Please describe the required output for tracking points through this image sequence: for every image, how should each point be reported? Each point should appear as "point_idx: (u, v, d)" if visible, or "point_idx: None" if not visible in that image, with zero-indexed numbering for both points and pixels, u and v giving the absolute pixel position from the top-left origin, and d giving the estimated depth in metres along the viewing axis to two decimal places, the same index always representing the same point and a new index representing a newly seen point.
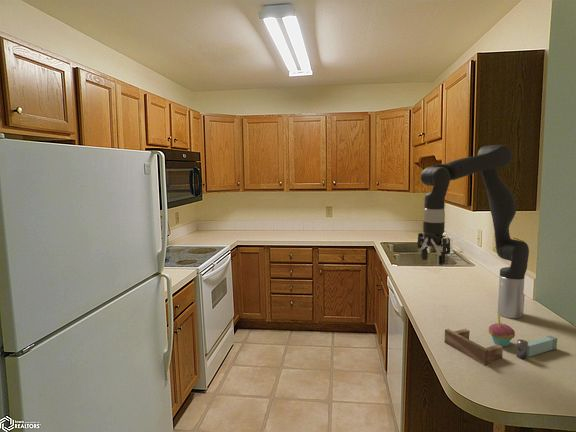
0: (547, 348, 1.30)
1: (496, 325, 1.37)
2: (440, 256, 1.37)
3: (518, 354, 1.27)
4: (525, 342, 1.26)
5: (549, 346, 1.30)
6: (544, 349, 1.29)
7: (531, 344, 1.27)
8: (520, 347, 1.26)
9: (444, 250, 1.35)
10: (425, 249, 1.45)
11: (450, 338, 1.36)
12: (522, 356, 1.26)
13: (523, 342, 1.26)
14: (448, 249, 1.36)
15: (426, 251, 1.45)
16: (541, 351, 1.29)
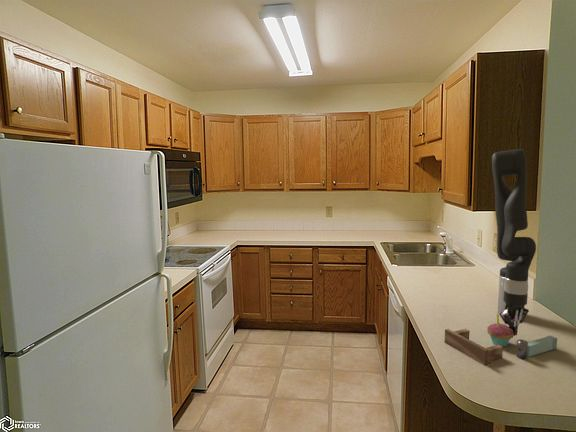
0: (547, 348, 1.30)
1: (495, 325, 1.36)
2: None
3: (518, 354, 1.27)
4: (525, 342, 1.26)
5: (549, 346, 1.30)
6: (544, 349, 1.29)
7: (531, 344, 1.27)
8: (520, 347, 1.26)
9: (523, 319, 1.38)
10: None
11: (450, 338, 1.36)
12: (522, 356, 1.26)
13: (523, 342, 1.26)
14: None
15: None
16: (541, 351, 1.29)
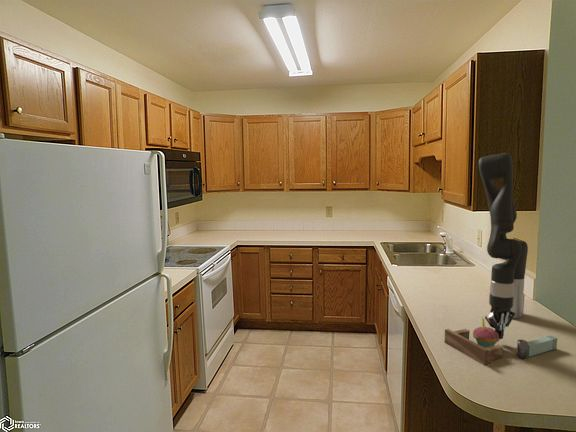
0: (547, 348, 1.30)
1: (480, 329, 1.34)
2: (503, 330, 1.35)
3: (518, 354, 1.27)
4: (525, 342, 1.26)
5: (549, 346, 1.30)
6: (544, 349, 1.29)
7: (531, 344, 1.27)
8: (520, 347, 1.26)
9: (509, 323, 1.36)
10: None
11: (450, 338, 1.36)
12: (522, 356, 1.26)
13: (523, 342, 1.26)
14: None
15: None
16: (541, 351, 1.29)
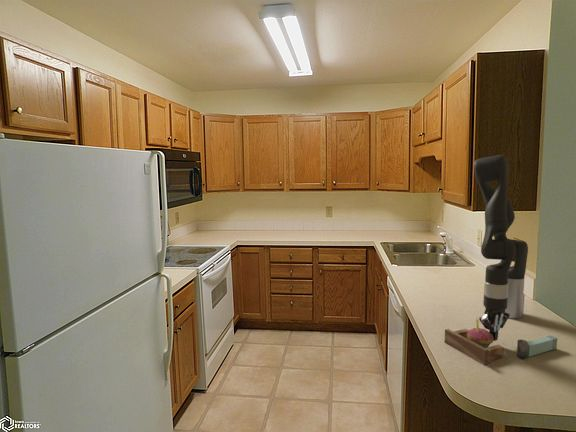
0: (547, 348, 1.30)
1: (474, 330, 1.33)
2: None
3: (518, 354, 1.27)
4: (525, 342, 1.26)
5: (549, 346, 1.30)
6: (544, 349, 1.29)
7: (531, 344, 1.27)
8: (520, 347, 1.26)
9: (503, 324, 1.35)
10: None
11: (450, 338, 1.36)
12: (522, 356, 1.26)
13: (523, 342, 1.26)
14: None
15: None
16: (541, 351, 1.29)
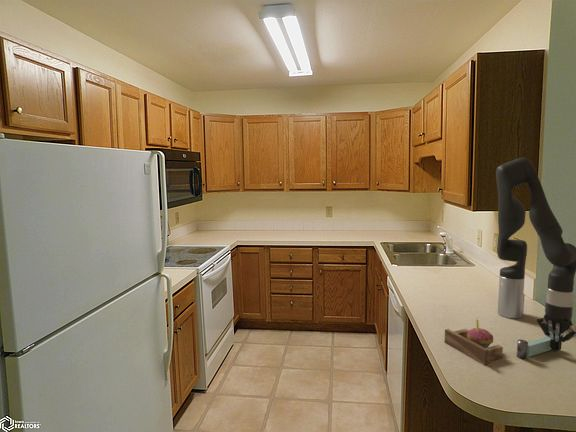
0: (547, 348, 1.30)
1: (474, 330, 1.33)
2: None
3: (518, 354, 1.27)
4: (525, 342, 1.26)
5: (549, 346, 1.30)
6: (544, 349, 1.29)
7: (531, 344, 1.27)
8: (520, 347, 1.26)
9: None
10: None
11: (450, 338, 1.36)
12: (522, 356, 1.26)
13: (523, 342, 1.26)
14: None
15: None
16: (541, 351, 1.29)
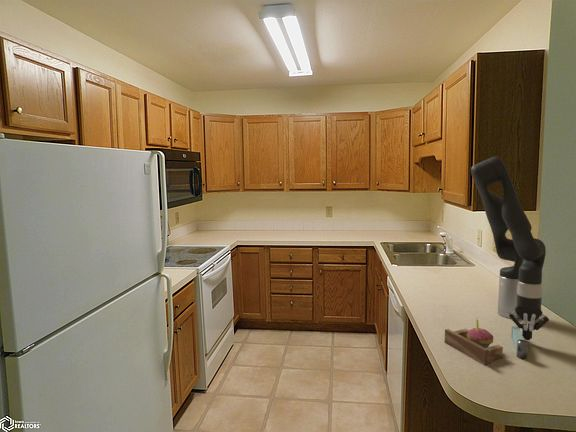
0: None
1: (474, 330, 1.33)
2: None
3: (518, 354, 1.27)
4: (525, 342, 1.26)
5: None
6: None
7: None
8: (520, 347, 1.26)
9: None
10: (528, 327, 1.36)
11: (450, 338, 1.36)
12: (522, 356, 1.26)
13: (523, 342, 1.26)
14: None
15: None
16: None
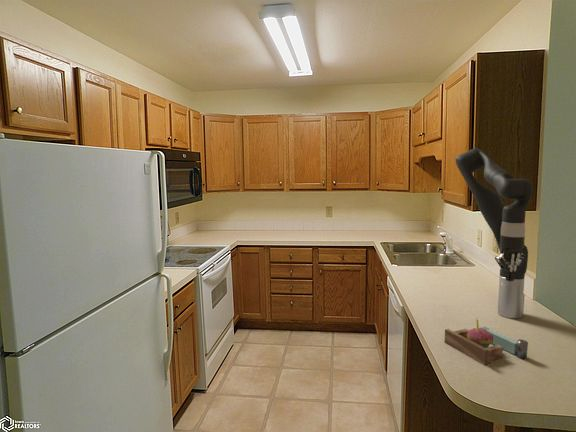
0: None
1: (474, 330, 1.33)
2: (506, 271, 1.37)
3: (518, 354, 1.27)
4: (525, 342, 1.26)
5: None
6: None
7: (513, 340, 1.30)
8: (520, 347, 1.26)
9: None
10: None
11: (450, 338, 1.36)
12: (522, 356, 1.26)
13: (523, 342, 1.26)
14: None
15: None
16: None
